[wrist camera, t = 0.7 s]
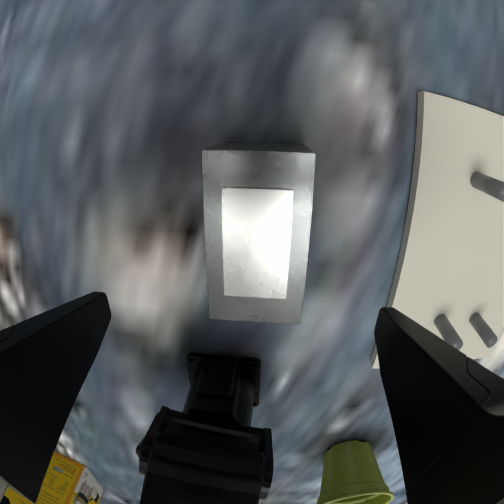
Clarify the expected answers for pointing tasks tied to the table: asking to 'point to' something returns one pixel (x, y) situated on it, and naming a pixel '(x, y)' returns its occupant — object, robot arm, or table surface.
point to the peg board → (454, 227)
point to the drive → (257, 229)
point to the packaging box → (63, 484)
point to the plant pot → (352, 476)
